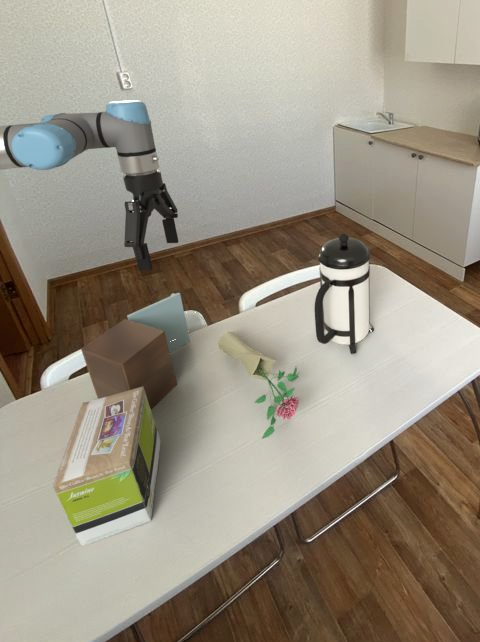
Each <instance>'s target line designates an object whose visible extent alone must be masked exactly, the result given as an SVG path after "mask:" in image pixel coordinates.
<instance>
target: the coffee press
mask: <svg viewBox="0 0 480 642" xmlns="http://www.w3.org/2000/svg"><path fill="white" fill-rule="evenodd" d="M317 259H318V262H319V284H320V287H319V289H318V291H317V293H316V296H315V299H314V324H315V336H316V340H317V342H319V343H320V344H322V345H327V344H328V343H329V342H330V341H331V342H333V343H334V344H338V345H342V346H348V347H349V352H350V354H351V355H354V354H355V355H356V354H357V346H356V344H357V343H360V342H361V341H362V340H364V339H365V338H366V337H367V335H368V333H374V331H375V327H374V326H373V324H372V323H371V305H370V304H371V303H370V302H371V298H370V297H371V296H370V295H371V294H370V292H371V291H370V273H371V267H370V259H371V250H370V249H369V247H368V246H367V245H366V244H365V242H363V241H361V240H360V239H357V238H355V237H350V236H348V234H346V233H341V234H339V237H335V238H333V239H330V240H328V241H327V242H325V243H324V244H323V245H322V246H321V248H320V250H319V251H318V253H317ZM370 327H371V328H370ZM369 329H371V330H372V332H370V330H369Z"/></svg>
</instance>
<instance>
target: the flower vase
mask: <svg viewBox="0 0 480 642" xmlns="http://www.w3.org/2000/svg"><path fill="white" fill-rule="evenodd" d="M217 345H218V349H219V350H221V352H224V353H225V354H228V355H229V356H231V357H232V358H234V359H237V360H238V361H239V362H240V363H241V364H242V366H243V367H244V369H245V371H246V372H247V374H248V376H249V377H251V378H254V379H255V378H256V379H259V380H263V381H267V383H268V388H269V390H270V391H271V394H269V396H270V397H269V398H270V399H269V400H270V401H272V396H273V402H274V404H278V405H279V406H277V407H276V405H274V406H273V405H272V403H270V404H271V405H269V406H268V407H267V412H266V420H267V421H268V420H270V424H269V425H270V426H268V428H267V429H266V430H265V432H264V433H263V435H262V438H261V439H267V438H269V437H270V436H272V435H273V434H274V432H275V428H274V424H275V423H276V422H277V419H276V418H275V416H276V417H281V418H282V420H283V421H285V420H287V421H288V420H291V419H292V418H293V417H294V416H295V414H296V412H297V409H298V407H299V402H300V398H299V397H298V396H297V397H296V396H294V391H295V387H292V388H289V389H287V385H286V383H288V382H290V383H292V382H294V381H296V380H297V379H299V378H300V376H299V374H300V372H301V371H298V367H297V366H295V367H294V370H293V373H288V374H287V375H286V376H284V375H285V374H286V371H281V369H279V370H278V373H275V374H273V373H271V372H272V369H273V367H274V364H275V362H276V359H273V358H272V357H269V356H267V355H265V354H264V353H262V352H259V351H257V350H255V349H253V348H251V347H249V346H248V345H247V344H246V343H245V342H244V341H243V340H242V339H241V338H240V337H239V336H238V335H237V334H235V333H234V332H233V331H227V332H224V333H223V334H222V335H221V336H220V337H219V340H218V343H217ZM297 372H298V373H297ZM270 375H272V376H273V377H272V378H271V380H270V379H269V376H270ZM275 375H277V376H275ZM273 378H274V379H275V380H276V381H277V382H278V383H277V384H276V385H275V384H274V383H273V382H272V380H273ZM282 378H286V379H284V380H282ZM273 388H274V390H275V391H276V392H277V394H278V395H275V393H274V390H273ZM280 391H281V392H283V393H282V394H281V392H280ZM271 395H272V396H271ZM267 396H268V393H266V394H265V393H264V394H263V395H261V396H259V397H258V398H257V399H256V400H255V401H254V404H262V403H264V402H266V400H267ZM275 413H276V414H275ZM270 418H271V419H270Z"/></svg>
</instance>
